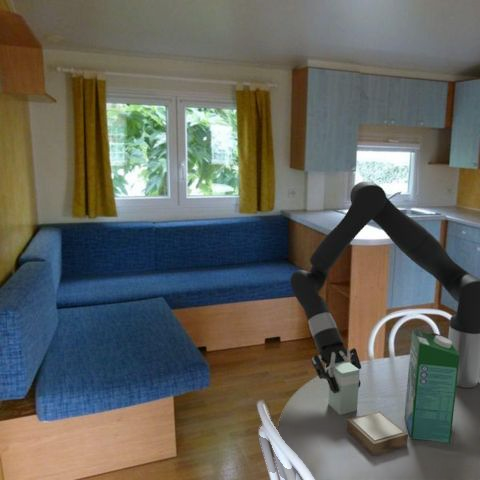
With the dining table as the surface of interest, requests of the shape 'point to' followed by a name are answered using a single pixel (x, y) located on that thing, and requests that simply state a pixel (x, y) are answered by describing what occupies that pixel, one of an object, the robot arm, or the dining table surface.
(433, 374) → the milk carton
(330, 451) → the dining table surface
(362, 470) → the dining table surface
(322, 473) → the dining table surface
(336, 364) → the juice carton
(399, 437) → the walnut podium
